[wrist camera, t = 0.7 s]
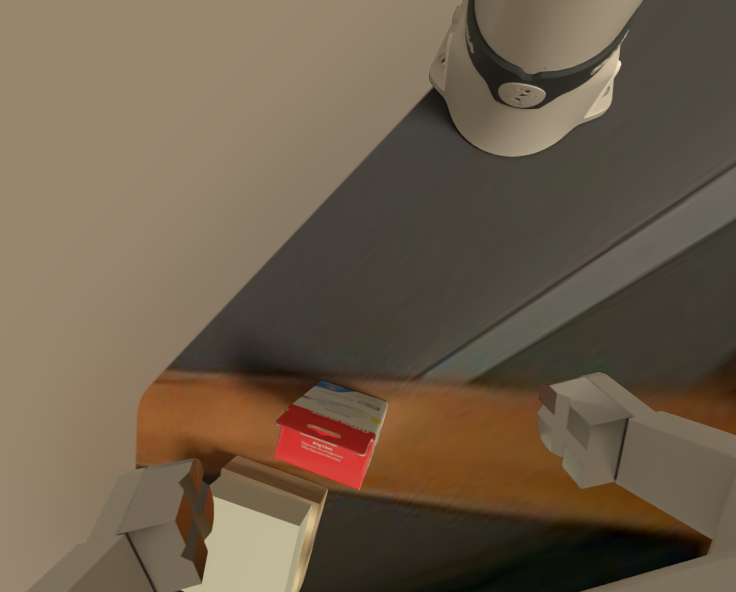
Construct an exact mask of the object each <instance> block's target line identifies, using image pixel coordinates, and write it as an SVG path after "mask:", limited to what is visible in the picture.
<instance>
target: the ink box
mask: <svg viewBox="0 0 736 592" xmlns="http://www.w3.org/2000/svg"><path fill="white" fill-rule="evenodd" d="M387 407H388V402H386V401H383V400H380V399H377V398H374V397H371V396H368V395H365V394H362V393H359V392H356V391H353V390H350V389H347V388H344V387H341V386H338V385H335V384H332V383H329V382H325V381H320V382H319V383H318V384H317V385H315V386H314V387H313V388H312V389H310V390H309V391H308V392H307V393H305V394H304V395H303V396H302V397H300V398H299V399H298V400H297V401H295V402H294V403H293V404H292V405H290V406H289V407H288V408H287V409H286V411H285V413H284V414H283V415H282V416H281V417H280V418H279V419H278V420H276V421H275V424H276V425H278V426H281V431H280V435H279V439H278V443H277V447H276V451H275V455H274V458H276V459H279V460H281V461H284V462H287V463H289V464H292V465H295V466H297V467H300V468H303V469H305V470H308V471H310V472H313V473H316V474H318V475H321V476H324V477H326V478H329V479H332V480H334V481H337V482H339V483H342V484H345V485H347V486H350V487H353V488H355V489H358V490H359V489H360V487H361V485H362V483H363V480H364V477H365V474H366V472H367V469H368V466H369V463H370V461H371V458H372V456H373V453H374V450H375V447H376V444H377V442H378V439H379V435H380V432H381V429H382V425H383V422H384V418H385V415H386V411H387Z"/></svg>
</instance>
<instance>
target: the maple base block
mask: <svg viewBox="0 0 736 592" xmlns="http://www.w3.org/2000/svg"><path fill="white" fill-rule="evenodd" d="M221 475H224V476H227V477H230V478H233V479H236V480H239V481H242V482H245V483H248V484H251V485H254V486H257V487H260V488H263V489H266V490H269V491H271V492H274V493H277V494H280V495H283V496H286V497H289V498H292V499H295V500H298V501H301V502H304V503H307V504H310V505H312V507H311V511H310V516H309V520H308V524H307V529H306V533H305V537H304V542H303V546H302V550H301V555H300V559H299V563H298V568H297V572H296V576H295V581H294V585H293V589H292V592H299V590H300V588H301V585H302V583H303V581H304V577H305V574H306V570H307V566H308V562H309V559H310V555H311V551H312V547H313V544H314V540H315V536H316V532H317V529H318V525H319V521H320V517H321V513H322V510H323V506H324V502H325V498H326V495H327V491H328V488H327V487H324V486H321V485H318V484H316V483H313V482H310V481H307V480H305V479H302V478H299V477H296V476H294V475H291V474H288V473H285V472H283V471H280V470H277V469H274V468H272V467H269V466H266V465H263V464H261V463H258V462H255V461H252V460H250V459H247V458H244V457H241V456H239V455H237V456H236V457H234V458H233V459H232V460H231V461H230V462H228V463H227V464H226V465H225V466H224V467H223V468H222V470H221V474H220V476H221Z"/></svg>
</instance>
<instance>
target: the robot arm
mask: <svg viewBox="0 0 736 592" xmlns="http://www.w3.org/2000/svg"><path fill="white" fill-rule="evenodd" d="M642 1H643V0H463V2H462V4H461V6H457V8H456V10H455V12H454V15H453V20H452V25H451V27H450V29H449V31H448V33H447V35H446V37H445V39H444V41H443V43H442V45H441V47H440V49H439V51H438V54H437V56H436V58H435V60H434V62H433V64H432V66H431V68H430V73H429V79H430V82H431V84H432V85H433V87H434V88H435V89H436V90H437V91H438V92H439V93H440V94H441V95H442V96H443V97H444V99H445V101H446V103H447V106H448V109H449V112H450V115H451V117H452V120H453V122H454V124H455V126H456V127H457V129H458V130H459V132H460V133H461V134H462V135H463V136H464V137H465V138H466V139H467V140H468V141H469V142H470V143H472V144H473V145H474V146H476V147H478V148H479V149H481V150H483V151H486V152H488V153H492V154H495V155H500V156H524V155H529V154H533V153H536V152H539V151H541V150H544V149H546V148H548V147H549V146H551V145H553V144H554V143H556V142H557V141H559V140H560V139H561V138H562V137H564V136H565V135H566V134H567V133H568V132H569V131H570V130H572V129H573V128H574V127H576V126H577V125H579V124H581V123H584V122H587V121H590V120H592V119H595V118H597V117H599V116H601V115H602V114H604V113H605V112H606V111H607V109H608V108H609V106H610V104H611V101H612V92H613V81H614V77H615V75H616V74H617V72H618V71H619V69H620V66H621V62H620V61H619V60H618V59H619V53H620V45H621V43H622V42H623V40H624V38H625V37H626V35H627V33H628V31H629V28H630V27H631V25H632V23H633V21H634V18H635V16H636V14H637V11H638V7H639V5H640V4H641V2H642ZM443 62H445V66H443V65H442V63H443ZM539 400H540V401H541V402H542V403H543V406H542V408H541V409H540V410H539V412H538V413H537V427H538V431H539V434H540V437H541V439H542V441H543V442H544V444H545V445H546V447H547V448H548V449H549V450H550V452H552V453H554V454H556V455H558V456H560V457H562V466H563V468H564V469H565V470H566V471H567V472H568V474H569V475H570V476H571V477H572V478H573V480H574V481H575V482H576V483H577V484H578V486H579V487H580V488H581V489H583V488H587V487H592V486H597V485H601V484H606V483H610V482H615V481H616V484H618V485H620V486H621V487H623V488H625V489H627V490H628V491H630V492H632V493H633V494H635V495H637V496H639V497H640V498H642V499H644V500H645V501H647V502H649V503H651V504H652V505H654V506H656V507H657V508H659V509H661V510H663V511H664V512H666V513H668V514H669V515H671V516H673V517H675V518H676V519H678V520H680V521H681V522H683V523H685V524H687V525H688V526H690V527H692V528H693V529H695V530H697V531H699V532H700V533H702V534H704V535H705V536H707V537H709V538H711V539H712V543H711V546H710V548H709V551H708V554H707V556H703V557H700V558H697V559H693V560H690V561H686V562H683V563H679V564H676V565H672V566H669V567H665V568H662V569H658V570H655V571H651V572H648V573H644V574H641V575H637V576H634V577H630V578H627V579H624V580H620V581H617V582H613V583H610V584H606V585H603V586H599V587H596V588H592V589H589V590H585V591H582V592H736V435H733V434H730V433H727V432H724V431H721V430H718V429H715V428H712V427H709V426H706V425H703V424H700V423H697V422H694V421H691V420H688V419H685V418H682V417H679V416H676V415H673V414H669V413H666V412H663V411H659V412H655V411H653V410H652V409H651V408H650V407H648V406H647V405H646V404H644V403H643V402H642V401H640V400H639V399H638V398H636V397H635V396H634V395H632V394H631V393H630V392H628V391H627V390H626V389H624V388H623V387H622V386H620V385H619V384H618V383H617V382H615V381H614V380H613V379H611V378H610V377H609V376H607V375H606V374H603V373H600V372H597V373H593V374H589V375H584V376H580V377H578V378H573V379H568V380H563V381H559V382H554V383H550V384H545V385H542V387H541V388H540V390H539ZM203 473H204V469H203V467H202V464H201V462H200V460H199V459H197V458H193V459H187V460H182V461H177V462H171V463H166V464H161V465H155V466H150V467H148V468H142V469H136V470H131V471H125V472H124V473H122V474H121V475H120V476H119V477H118V479H117V481H116V483H115V485H114V487H113V489H112V491H111V493H110V495H109V497H108V499H107V501H106V503H105V505H104V507H103V509H102V511H101V513H100V515H99V517H98V519H97V521H96V523H95V525H94V527H93V529H92V532H91V534H90V536H89V538H88V540H87V542H86V543H83V544H79V545H77V546H76V547H75V548H73V549H72V551H70V552H69V553H68V554H67V555H66V556H65V557H64V558H62V559H61V561H59V562H58V563H57V564H56V565H55V566H54V567H53V568H51V569H50V570H49V571H48V572H47V573H46V574H45V575H44V576H43V577H42V578H40V579H39V580H38V581H37V582H36V583H35V584H34V585H33V586H32V587H30V589H28V590H27V591H26V592H174V591H178V590H181V589H185V588H189V587H192V586H196V585H199V584H202V581H203V575H204V570H205V565H206V560H207V555H208V550H207V547H206V544H205V542H204V540H205V539H206V538H207V537H208V536H209V534H210V533H211V532H212V528H213V522H214V501H213V495H212V491H211V489H210V486H209V485H208V484H206V483H204V482H203V481H202V478H203Z"/></svg>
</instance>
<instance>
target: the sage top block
mask: <svg viewBox="0 0 736 592" xmlns="http://www.w3.org/2000/svg"><path fill="white" fill-rule="evenodd" d="M210 489H211V491H212V495H213V501H214V522H213V528H212V532H211V533H210V534H209V536H208V537H207V538H206V539H205V540H204V542H205V544H206V547H207V550H208V555H207V560H206V565H205V570H204V575H203V581H202V584H199V585H196V586H192V587H189V588H185V589H181V590H182V591H184V592H292V589H293V585H294V581H295V576H296V572H297V568H298V563H299V559H300V555H301V550H302V546H303V542H304V537H305V533H306V529H307V524H308V520H309V516H310V511H311V507H312V505H310V504H307V503H304V502H301V501H298V500H295V499H292V498H289V497H286V496H283V495H280V494H277V493H274V492H271V491H269V490H266V489H263V488H260V487H257V486H254V485H251V484H248V483H245V482H242V481H239V480H236V479H233V478H230V477H227V476H224V475H221V476H220V477H219V478H218V479H217V480H216V481H214V482H213V483H212V484H211V485H210Z"/></svg>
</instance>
